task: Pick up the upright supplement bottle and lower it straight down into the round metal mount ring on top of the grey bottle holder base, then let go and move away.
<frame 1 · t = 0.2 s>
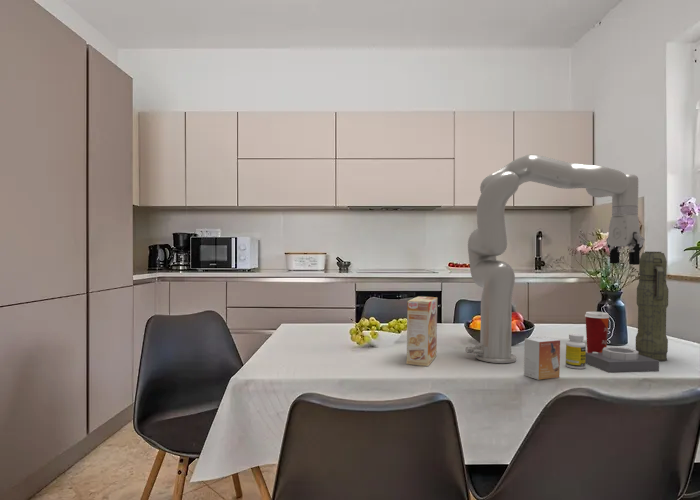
hand: (624, 263, 162), 31 cm above the table, tool pointing down, fingers open, 9 cm apart
paper cup: (596, 354, 165), on the table
small box: (541, 377, 136), on the table
supplement bottle: (575, 367, 147), on the table
grey bottle holder base: (620, 366, 148), on the table
thermos: (651, 359, 159), on the table
coffeecake box: (422, 360, 154), on the table
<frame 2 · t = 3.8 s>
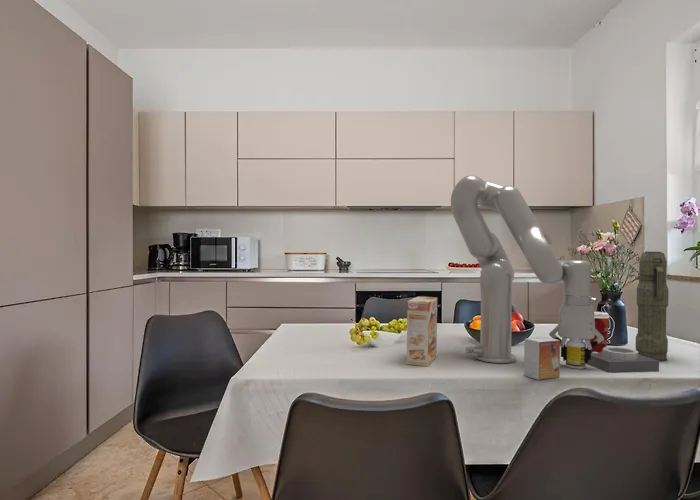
hand: (575, 360, 147), 2 cm above the table, tool pointing down, fingers closed on supplement bottle, 5 cm apart
supplement bottle: (575, 367, 147), on the table, touching gripper
everything else where it was.
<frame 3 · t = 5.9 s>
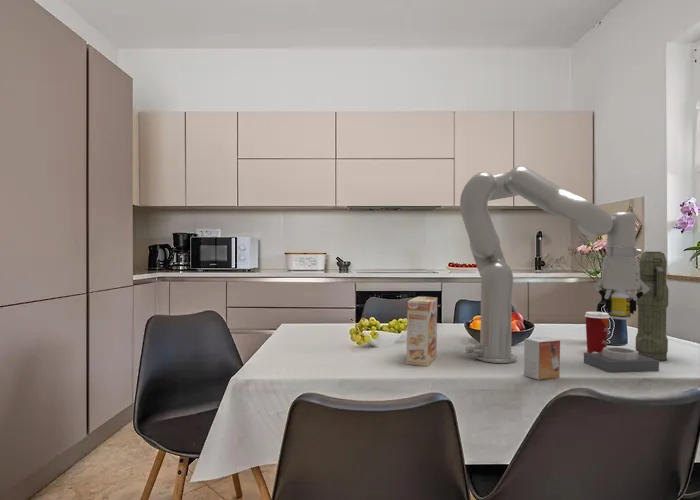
hand: (620, 312, 148), 17 cm above the table, tool pointing down, fingers closed on supplement bottle, 5 cm apart
supplement bottle: (620, 319, 148), point 14 cm above the table, touching gripper
everything else where it was.
when the fingers open (6 cm above the table, at t = 8.2 s): supplement bottle drops 1 cm, resting on grey bottle holder base.
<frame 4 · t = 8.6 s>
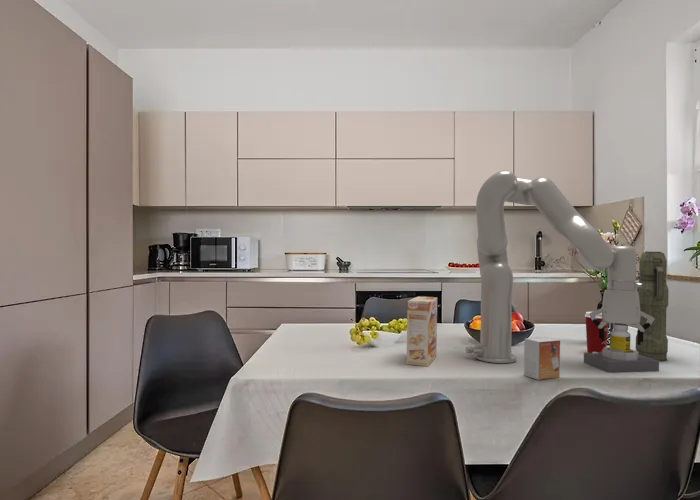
hand: (620, 342, 148), 7 cm above the table, tool pointing down, fingers open, 9 cm apart
supplement bottle: (619, 357, 148), point 3 cm above the table, touching grey bottle holder base
everything else where it was.
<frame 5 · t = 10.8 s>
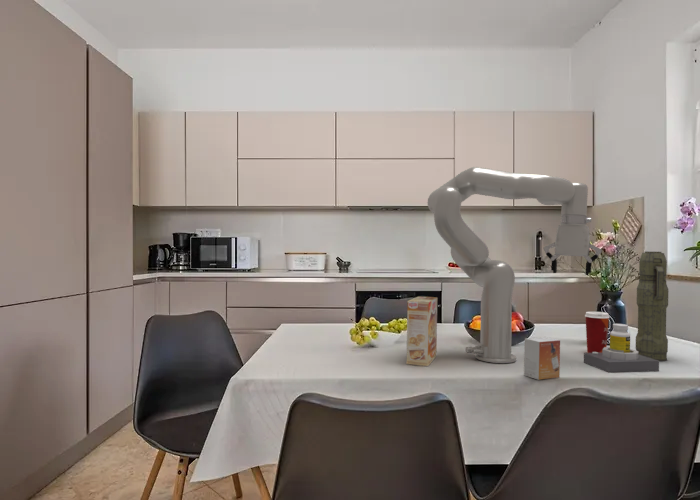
hand: (570, 273, 158), 27 cm above the table, tool pointing down, fingers open, 9 cm apart
nothing on the table moved.
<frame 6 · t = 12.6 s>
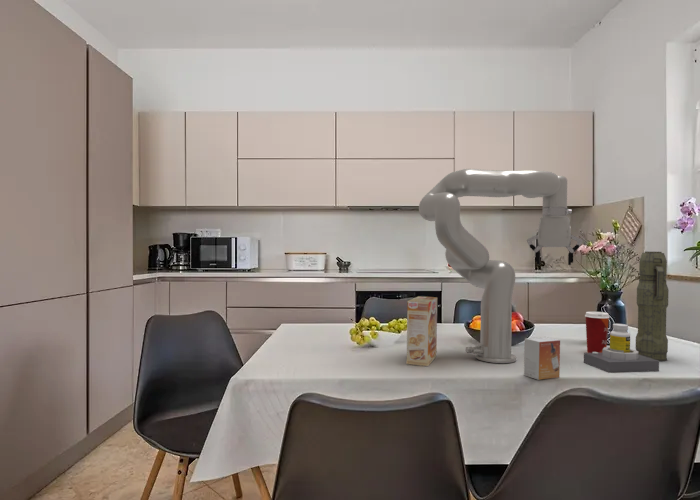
hand: (553, 264, 163), 30 cm above the table, tool pointing down, fingers open, 9 cm apart
nothing on the table moved.
at the end: supplement bottle 0.2 cm off-centre on the grey bottle holder base, point 2.8 cm above the grey bottle holder base's base; supplement bottle tilted 0°; the gripper is holding nothing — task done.
